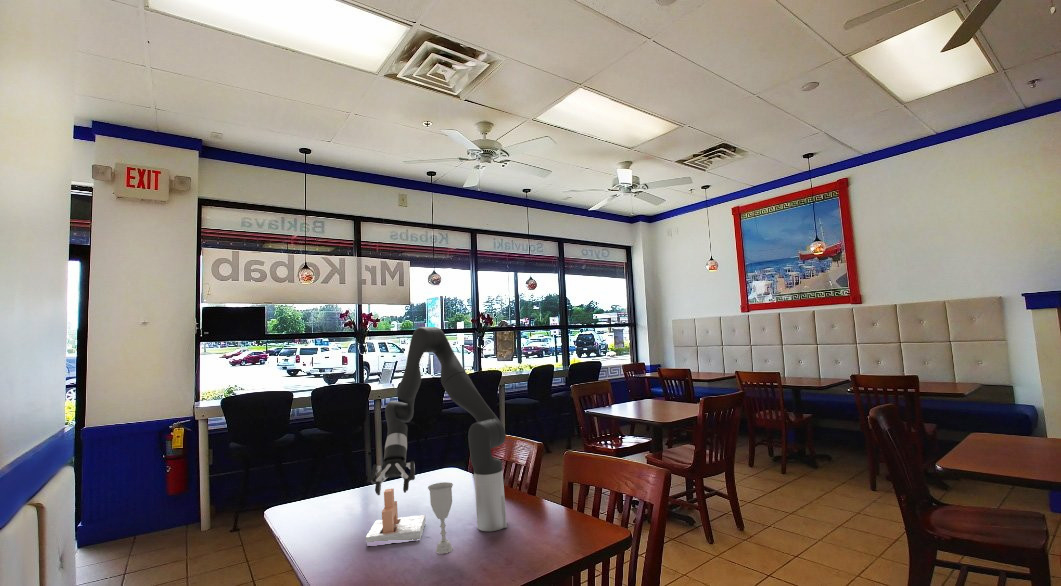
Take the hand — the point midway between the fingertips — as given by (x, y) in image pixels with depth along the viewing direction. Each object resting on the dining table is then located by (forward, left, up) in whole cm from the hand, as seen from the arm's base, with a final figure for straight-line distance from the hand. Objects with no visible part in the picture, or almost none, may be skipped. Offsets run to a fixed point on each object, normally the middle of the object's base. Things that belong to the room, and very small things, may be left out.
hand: (391, 492), depth 162 cm
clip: (0, +5, -12) cm, 13 cm away
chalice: (-18, +21, -12) cm, 30 cm away
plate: (-2, +5, -12) cm, 13 cm away
